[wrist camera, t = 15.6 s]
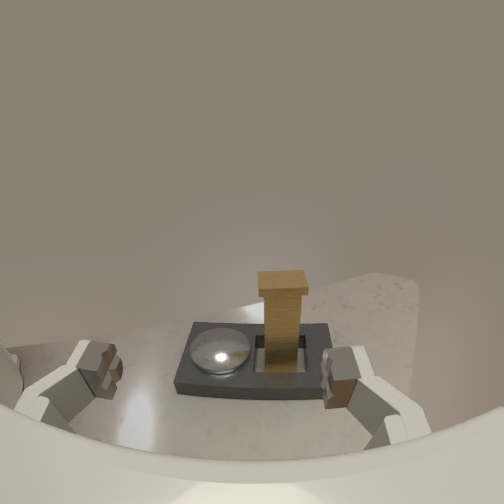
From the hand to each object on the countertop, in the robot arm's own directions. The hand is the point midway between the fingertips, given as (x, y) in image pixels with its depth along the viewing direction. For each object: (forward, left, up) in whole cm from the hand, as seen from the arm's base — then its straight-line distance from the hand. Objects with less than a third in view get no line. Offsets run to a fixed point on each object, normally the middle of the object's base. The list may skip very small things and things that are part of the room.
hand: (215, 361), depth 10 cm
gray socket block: (0, +20, -23) cm, 30 cm away
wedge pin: (+3, +20, -23) cm, 30 cm away
